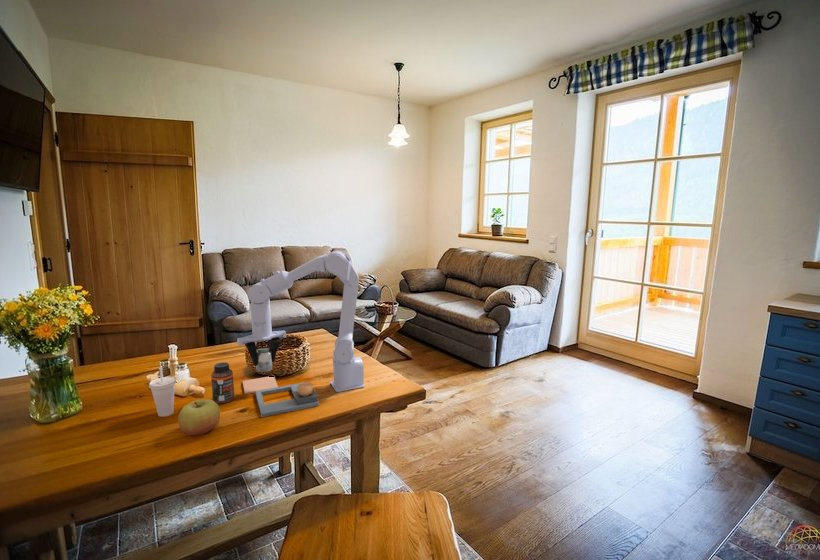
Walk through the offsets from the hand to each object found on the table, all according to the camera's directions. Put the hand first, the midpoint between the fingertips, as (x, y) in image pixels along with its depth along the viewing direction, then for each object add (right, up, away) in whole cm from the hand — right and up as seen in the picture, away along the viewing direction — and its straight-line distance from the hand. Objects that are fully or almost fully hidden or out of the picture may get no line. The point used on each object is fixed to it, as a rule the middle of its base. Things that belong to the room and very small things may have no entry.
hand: (263, 362), depth 128 cm
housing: (+9, -10, -5) cm, 14 cm away
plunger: (+15, -9, -7) cm, 19 cm away
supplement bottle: (-10, -10, -6) cm, 15 cm away
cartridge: (0, -2, 0) cm, 2 cm away
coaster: (-3, -8, +4) cm, 10 cm away
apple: (-8, -13, -22) cm, 27 cm away
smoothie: (-23, -12, -14) cm, 29 cm away
